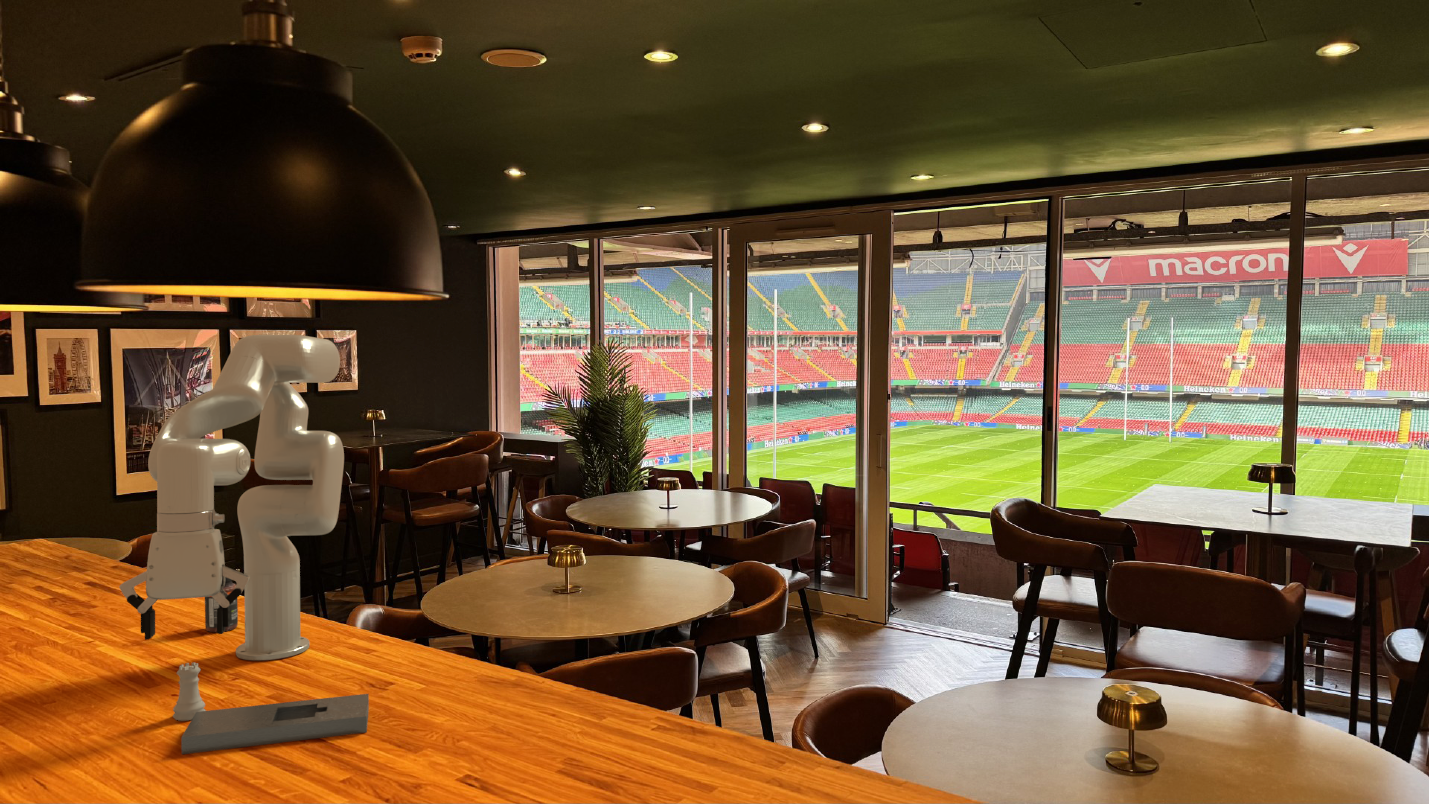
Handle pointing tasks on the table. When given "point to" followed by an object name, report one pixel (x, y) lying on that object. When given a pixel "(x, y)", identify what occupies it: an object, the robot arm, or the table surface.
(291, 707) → the pocket plate
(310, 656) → the table surface
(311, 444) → the robot arm
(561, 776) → the table surface
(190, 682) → the rook chess piece
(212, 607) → the supplement bottle
